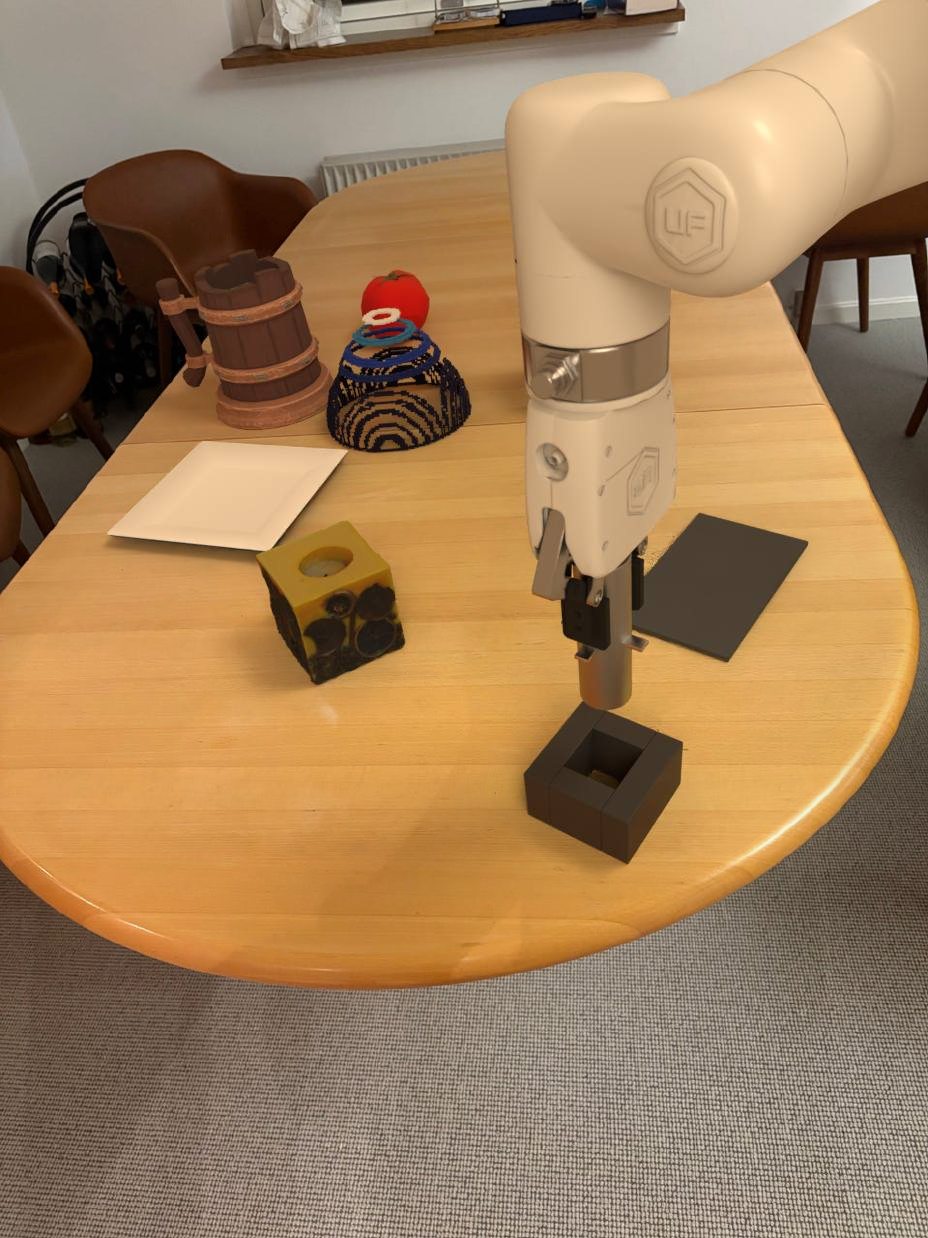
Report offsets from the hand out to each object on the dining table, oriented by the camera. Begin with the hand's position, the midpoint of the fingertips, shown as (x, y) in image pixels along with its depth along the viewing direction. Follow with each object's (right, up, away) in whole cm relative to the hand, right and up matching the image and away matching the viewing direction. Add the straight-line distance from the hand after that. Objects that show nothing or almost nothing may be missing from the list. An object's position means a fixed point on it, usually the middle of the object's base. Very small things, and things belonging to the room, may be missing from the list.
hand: (603, 619), depth 57 cm
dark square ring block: (+2, -14, +12) cm, 19 cm away
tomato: (-20, +47, +88) cm, 102 cm away
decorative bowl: (-18, +28, +67) cm, 75 cm away
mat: (+16, +4, +31) cm, 35 cm away
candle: (-21, -2, +31) cm, 38 cm away
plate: (-38, +15, +54) cm, 67 cm away
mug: (-39, +33, +76) cm, 91 cm away
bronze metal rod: (+1, -5, +4) cm, 7 cm away
